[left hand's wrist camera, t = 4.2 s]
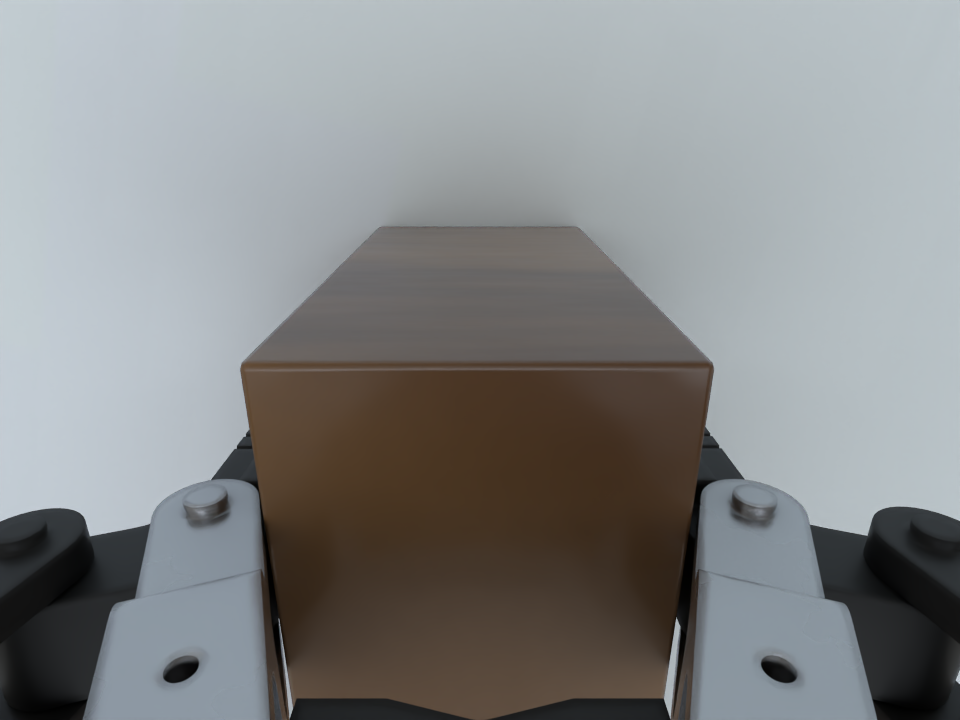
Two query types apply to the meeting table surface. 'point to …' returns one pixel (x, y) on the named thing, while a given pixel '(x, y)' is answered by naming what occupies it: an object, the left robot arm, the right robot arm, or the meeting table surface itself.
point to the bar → (477, 473)
